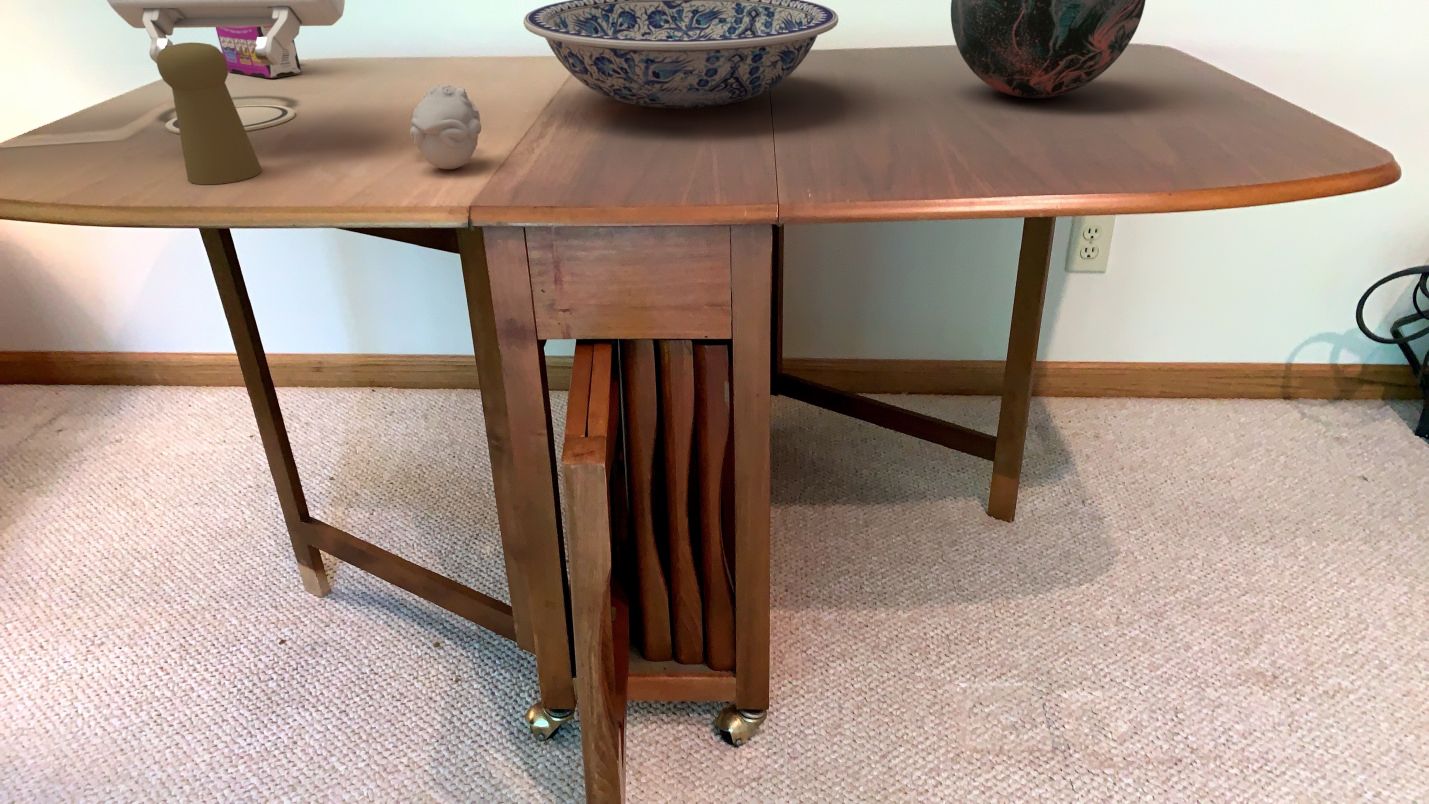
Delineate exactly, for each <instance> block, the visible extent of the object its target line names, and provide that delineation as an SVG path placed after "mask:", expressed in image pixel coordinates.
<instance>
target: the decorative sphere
mask: <svg viewBox="0 0 1429 804" xmlns="http://www.w3.org/2000/svg"><path fill="white" fill-rule="evenodd" d="M1145 6H1146V0H951V2H950V23H951V29H952V34H953V38H954V41H955V45H956V47H957V50H958V51H959V54H960V56H961V57H962V59H963V61H964V62H965V63H966V65H967V66H968V68H969V69H970V70H971V71H972V73H973V74H974V75H975V76H976V77H978V78H979V79H980V80H981V81H982V82H984V83H985V84H986V85H988V86H990V87H991V88H993V89H995V90H997V91H999V92H1001V93H1005V94H1006V95H1010V96H1013V97H1018V98H1025V99H1045V98H1052V97H1057V96H1061V95H1064V94H1068V93H1070V92H1072V91H1075V90H1078V89H1079V88H1082V87H1085V86H1086V85H1088V84H1089V83H1090V82H1092V81H1093V80H1096V79H1097V78H1098V77H1099V76H1101V75H1102V74H1104V72H1106V71H1107V70H1108V69H1109V68H1110V67H1111V66H1112V65H1113V64H1114V63H1115V62H1116V61H1117V60H1118V59H1119V57H1121V55H1122V54H1123V53H1124V51H1125V50H1126V48H1127V47H1128V45H1129V44H1130V42H1131V41H1132V39H1133V37H1134V35H1135V34H1136V32H1137V30H1138V27H1139V25H1140V22H1141V21H1142V20H1141V19H1142V17H1143V14H1144V11H1145V10H1144V9H1145Z"/></svg>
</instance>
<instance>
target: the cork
mask: <svg viewBox="0 0 1429 804" xmlns="http://www.w3.org/2000/svg"><path fill="white" fill-rule="evenodd" d="M156 68H157V70H158V73H159V75H160V77H161V79H162V80H163V82H165V84H167V85H168V87H170V88H171V90H172V96H173V102H174V107H175V108H174V109H175V113H176V117H177V120H178V125H179V131H180V134H179V136H180V142H181V149H182V154H183V159H184V166H185V171H186V176H187V181H188V182H189V183H191V184H195V185H222V184H229V183H235V182H241V181H244V180H248V179H251V178H253V177H256V176H258V175H260V174H261V173H262V171H263V168H262V166H261V164H260V162H259V159H258V157H257V155H256V152H255V150H254V148H253V145H252V143H251V140H250V137H249V136H248V133H247V131H245V129H244V126H243V124H242V122H241V119H240V117H239V115H238V112H237V110H236V108H235V106H236V105H235V103H234V100H233V98H232V96H231V94H230V91H229V89H228V87H227V84H226V81H227V78H228V76H229V72H228V66H227V62H226V59H225V57H224V55H223V53H222V50H220V49H219V48H218V47H217V46H216V45H213V44H210V43H205V42H204V43H203V42H180V43H176V44H173V45H172V46H169V47H166V48H163V49H162V50H161V51H160V52H159V53H158V56H157V64H156Z"/></svg>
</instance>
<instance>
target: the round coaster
mask: <svg viewBox="0 0 1429 804" xmlns="http://www.w3.org/2000/svg"><path fill="white" fill-rule="evenodd" d="M235 108H236V110H237V112H238V115H239V117H240V119H241V122H242V124H243V126H244V129H245V131H246V132H250V131H256V130H261V129H266V128H270V127H273V126H277V125H280V124H283V123H286V122H288V121H290V120H291V119H293V118H294V117H295V116H296V111H295V110H294V108H291V107H288V106H284V105H277V104H276V105H275V104H247V105H245V104H244V105H235ZM165 130H167V131H168V132H169V133H170V132H171V133H173V134H179V135H180V131H179V125H178V120H177V116H176V117H174V118H172V119H170V120H168V121H167V122H166V123H165Z"/></svg>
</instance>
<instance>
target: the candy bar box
mask: <svg viewBox="0 0 1429 804" xmlns="http://www.w3.org/2000/svg"><path fill="white" fill-rule="evenodd" d="M272 27H273V26H265V27H215V31H216V34H217V38H218V42H219V46H220V49H221V50H220V51H221V52H222V53H223V55H224V57H225V59H226V62H227V66H228V73H233V74H239V75H247V76H251V77H258V78H259V77H260V78H267V79H276V78H282V77H289V76H294V75H299V74H302V69H301V64H300V60H299V56H298V52H297V47H296V43H295V39H294V40H293V41H292V42H291V43H290V44H289V45H288V46H287V47H286V49H283V55H282V61H281V64H280V65H263V64H262V63H261V61H260V60H259V59H257V57H256V55H255V48H256V47H257V45H256V40H257V37H266V35H267V34H268V33H269V31H270V30H271V28H272Z"/></svg>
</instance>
